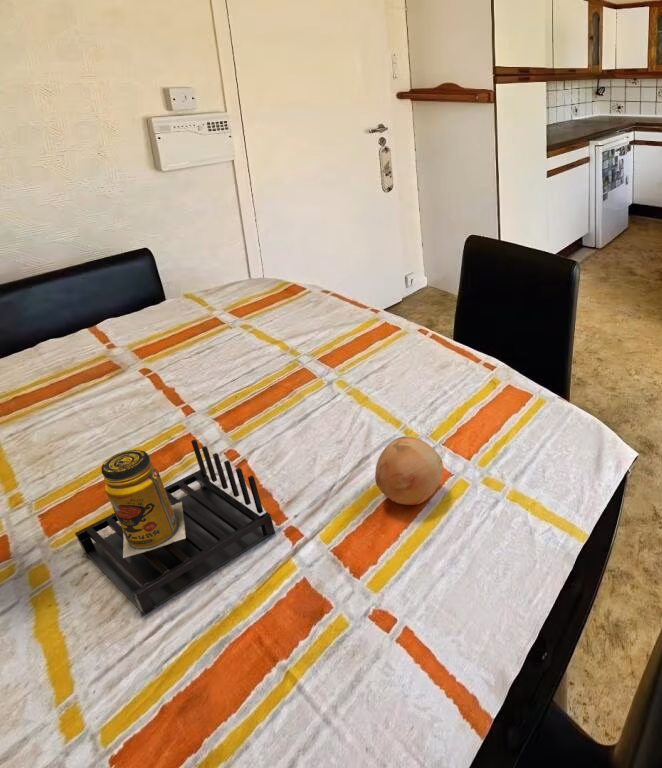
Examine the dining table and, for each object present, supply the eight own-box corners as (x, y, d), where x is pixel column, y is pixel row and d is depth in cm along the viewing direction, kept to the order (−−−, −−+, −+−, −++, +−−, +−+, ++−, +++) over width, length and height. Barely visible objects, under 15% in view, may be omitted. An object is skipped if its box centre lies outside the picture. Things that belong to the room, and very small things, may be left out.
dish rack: (144, 615, 75) (119, 557, 71) (83, 551, 85) (57, 497, 80) (275, 532, 87) (261, 478, 83) (208, 485, 97) (192, 435, 93)
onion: (456, 503, 92) (451, 447, 87) (392, 527, 88) (383, 469, 83) (430, 470, 99) (425, 417, 95) (370, 490, 95) (361, 436, 90)
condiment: (123, 559, 79) (90, 483, 73) (124, 520, 85) (94, 447, 80) (186, 539, 82) (159, 465, 76) (182, 503, 88) (157, 432, 82)
